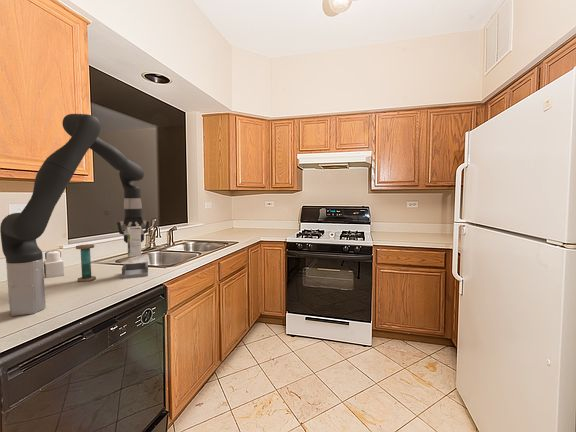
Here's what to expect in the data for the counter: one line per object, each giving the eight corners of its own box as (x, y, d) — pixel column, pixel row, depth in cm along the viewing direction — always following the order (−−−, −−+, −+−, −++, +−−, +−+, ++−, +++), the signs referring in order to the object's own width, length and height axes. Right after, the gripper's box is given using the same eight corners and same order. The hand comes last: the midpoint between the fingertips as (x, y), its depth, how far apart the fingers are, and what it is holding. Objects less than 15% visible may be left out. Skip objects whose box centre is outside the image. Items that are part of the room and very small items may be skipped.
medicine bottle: (44, 275, 144) (42, 251, 143) (62, 272, 149) (60, 249, 148) (45, 278, 139) (44, 253, 138) (64, 275, 144) (63, 251, 143)
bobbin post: (94, 281, 134) (92, 246, 133) (75, 283, 131) (74, 247, 130) (97, 277, 141) (95, 243, 139) (79, 278, 138) (77, 245, 137)
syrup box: (127, 255, 146) (126, 225, 144) (141, 253, 148) (140, 225, 147) (128, 257, 141) (126, 226, 140) (141, 255, 143) (140, 226, 142)
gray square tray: (147, 276, 143) (147, 266, 142) (121, 278, 138) (121, 269, 138) (148, 270, 153) (147, 262, 152) (124, 273, 148) (123, 264, 148)
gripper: (114, 208, 136) (116, 244, 138) (149, 207, 142) (150, 242, 144) (116, 207, 143) (118, 242, 144) (149, 207, 149) (150, 240, 150)
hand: (134, 242), depth 144 cm, fingers closed on syrup box, 6 cm apart
